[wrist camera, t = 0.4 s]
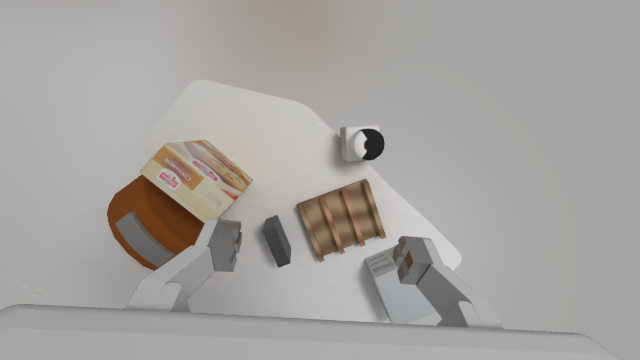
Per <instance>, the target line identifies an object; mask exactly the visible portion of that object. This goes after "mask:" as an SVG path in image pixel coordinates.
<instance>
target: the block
mask: <svg viewBox="0 0 640 360" xmlns="http://www.w3.org/2000/svg"><path fill="white" fill-rule="evenodd" d="M263 233H264V236H265V238H266V240H267V242H268V245H269V247H270V249H271V252H272V254H273V256H274V258H275V261H276V263H277V265H278V267H281V266H284V265H287V264H289V263H290V259H291V247H290V244H289V242H288V239H287V237H286V235H285V232H284V230H283V227H282V225H281V223H280V220H279V218H278V216H277V215H276V216H274V217H271V218H268V219H266V222H265V225H264V228H263Z"/></svg>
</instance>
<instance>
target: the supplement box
mask: <svg viewBox="0 0 640 360" xmlns="http://www.w3.org/2000/svg"><path fill="white" fill-rule="evenodd" d="M394 248H395V247H392V248H390V249H388V250H385V251H383V252H380V253H378V254H375V255H373V256H371V257H368V258H366V259H365V262H366V264H367V267H368V269H369V272H370V274H371V277H372V279H373V282H374V284H375V287H376V289H377V292H378V294H379V296H380V299H381V301H382V304H383V306H384V308H385V310H386V313H387V315H388V317H389V319H390V321H391V323H394V324H408V323H410V322H413V321H415V320H417V319H420V318H422V317H424V316H427V315H429V314H431V313H434V312H436V310H435V309H434V307H433V306H432V305H431V304H430V302H429V301H428V300H427V299H426V298H425V296H424V295H423V294H422V293H421V291H420V290H419V289H418V288H417V287H416V285H410V284H400V281H399V277H398V274H397V270H398V267H397V266H396V265H395V264H394V260H393V250H394Z"/></svg>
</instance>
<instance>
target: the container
mask: <svg viewBox="0 0 640 360" xmlns="http://www.w3.org/2000/svg"><path fill="white" fill-rule="evenodd" d="M340 136H341V157H342V158H343V159H345V160H346V161H348V162H350V161H364V160H377V159H379V158H380V155H381V153H382V152H383V149H384V139H383V136H382V135H381V133H380V127H379V125H371V126H356V127H342V128H340Z"/></svg>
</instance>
